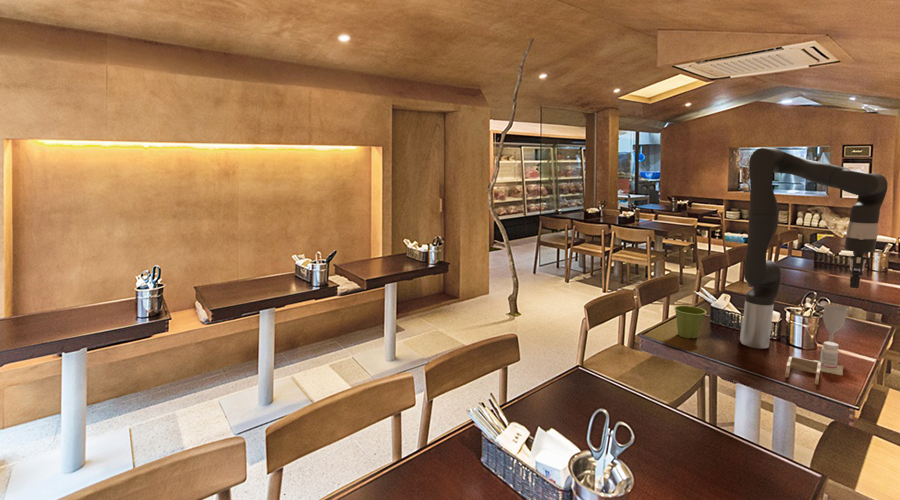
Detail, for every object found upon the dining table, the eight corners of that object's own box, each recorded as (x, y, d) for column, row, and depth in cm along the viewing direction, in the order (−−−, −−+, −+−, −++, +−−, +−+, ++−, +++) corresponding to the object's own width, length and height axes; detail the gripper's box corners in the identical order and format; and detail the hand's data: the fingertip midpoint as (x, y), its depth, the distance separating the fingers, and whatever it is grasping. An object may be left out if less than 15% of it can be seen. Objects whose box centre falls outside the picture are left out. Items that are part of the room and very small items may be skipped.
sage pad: (813, 361, 166) (813, 360, 166) (842, 367, 161) (843, 366, 160) (812, 369, 160) (812, 367, 160) (842, 375, 155) (842, 374, 154)
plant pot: (705, 343, 184) (707, 315, 182) (671, 338, 189) (674, 311, 187) (703, 333, 194) (705, 307, 192) (671, 329, 199) (674, 303, 197)
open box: (788, 366, 162) (789, 355, 161) (819, 373, 156) (821, 362, 156) (785, 376, 154) (786, 365, 153) (817, 384, 149) (819, 372, 148)
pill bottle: (840, 370, 157) (843, 346, 156) (824, 369, 158) (827, 345, 157) (831, 364, 162) (834, 341, 160) (816, 363, 163) (819, 340, 161)
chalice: (838, 352, 173) (845, 306, 170) (844, 359, 167) (851, 311, 164) (814, 349, 176) (820, 303, 173) (819, 356, 170) (825, 308, 167)
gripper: (846, 232, 158) (839, 279, 160) (846, 237, 147) (838, 287, 150) (876, 234, 153) (868, 282, 156) (878, 240, 142) (870, 291, 145)
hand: (853, 285), depth 153 cm, fingers open, 8 cm apart
